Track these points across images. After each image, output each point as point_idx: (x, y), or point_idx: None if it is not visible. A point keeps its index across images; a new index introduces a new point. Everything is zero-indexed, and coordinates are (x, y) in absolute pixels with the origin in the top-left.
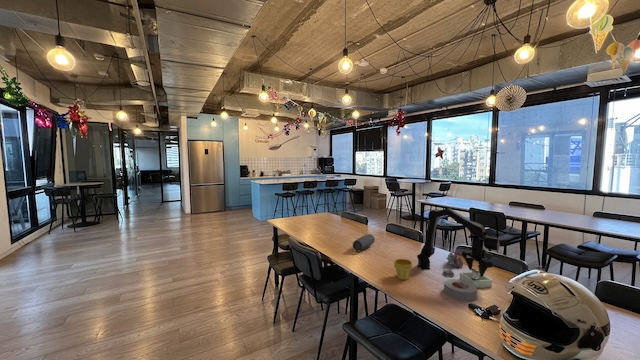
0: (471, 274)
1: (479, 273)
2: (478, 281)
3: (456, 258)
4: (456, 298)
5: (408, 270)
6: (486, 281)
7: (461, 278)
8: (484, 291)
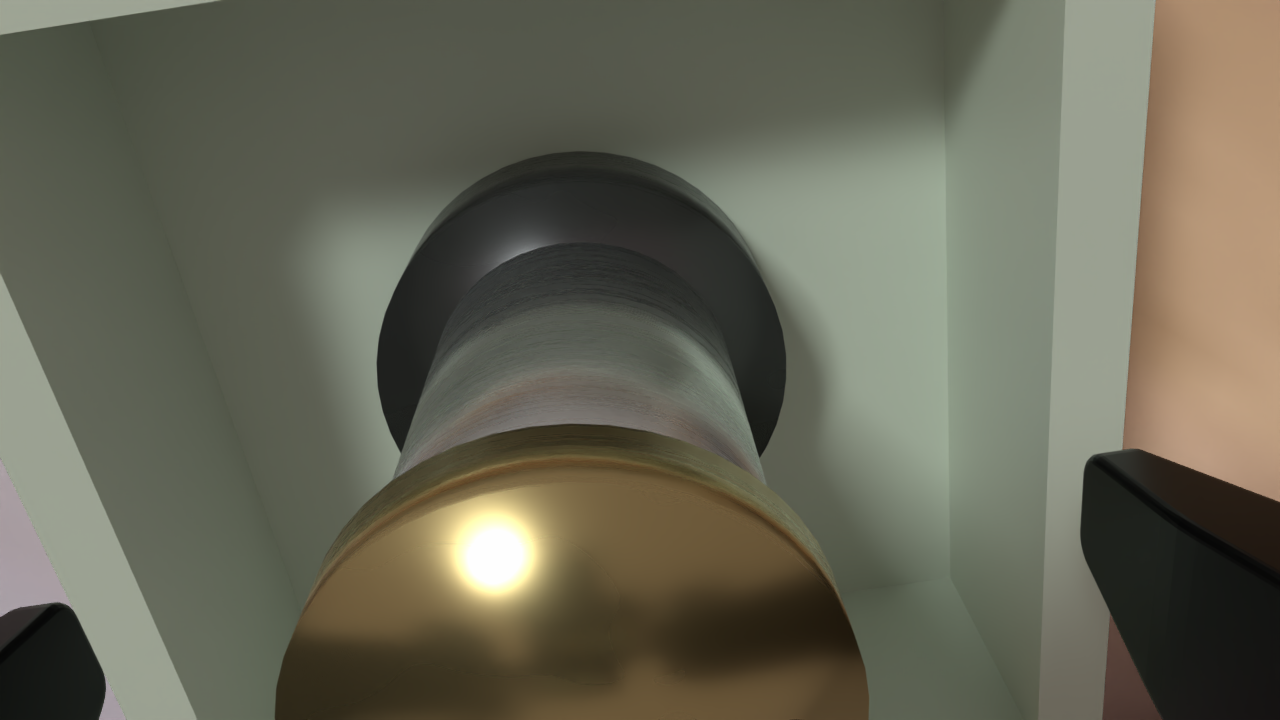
0: (120, 385)
1: (695, 433)
2: None
3: None
4: None
5: None
6: (1113, 158)
7: None
8: (1257, 335)
